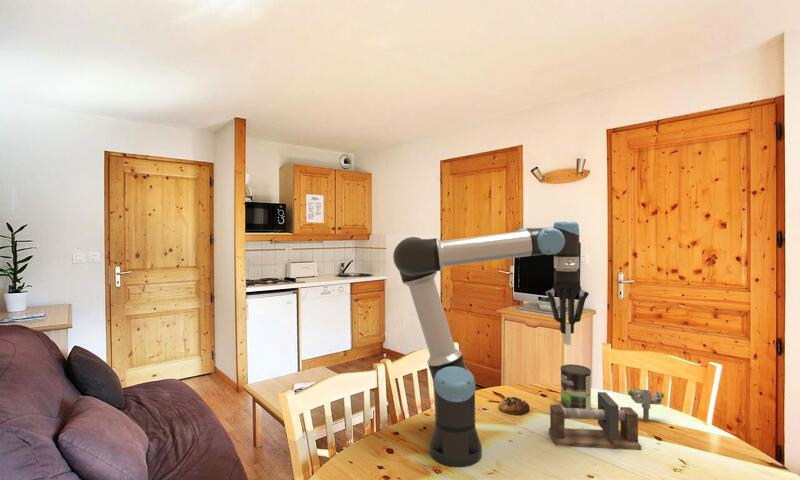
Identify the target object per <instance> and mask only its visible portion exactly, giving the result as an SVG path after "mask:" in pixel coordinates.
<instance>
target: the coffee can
mask: <svg viewBox="0 0 800 480" xmlns="http://www.w3.org/2000/svg"><path fill="white" fill-rule="evenodd" d="M591 395H592V370H591V369H590V368H589V367H586V366H584V365H579V364H563V365H560V406H561V407H562V408H578V409H592V405H591V404H592V401H591V399H592V396H591Z"/></svg>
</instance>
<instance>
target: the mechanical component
mask: <svg viewBox="0 0 800 480" xmlns="http://www.w3.org/2000/svg"><path fill="white" fill-rule="evenodd" d="M628 395H629V397H631V399H632V401H634V403H636V404H641V407H642V409H643V411H642V412H643V413H642V414H643V420H644V422H645V423H646V422H647V423H648V422H650V409H651V408H652V407H651V405H658V406H659V405H662V402H663V399H664V397H665V395H664V392H660V391H656V394H653V393H652V391H651V390H649V389H638V388H637V389H636V388H635V389H633V388H631V389H630V390H629V391H628Z"/></svg>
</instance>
